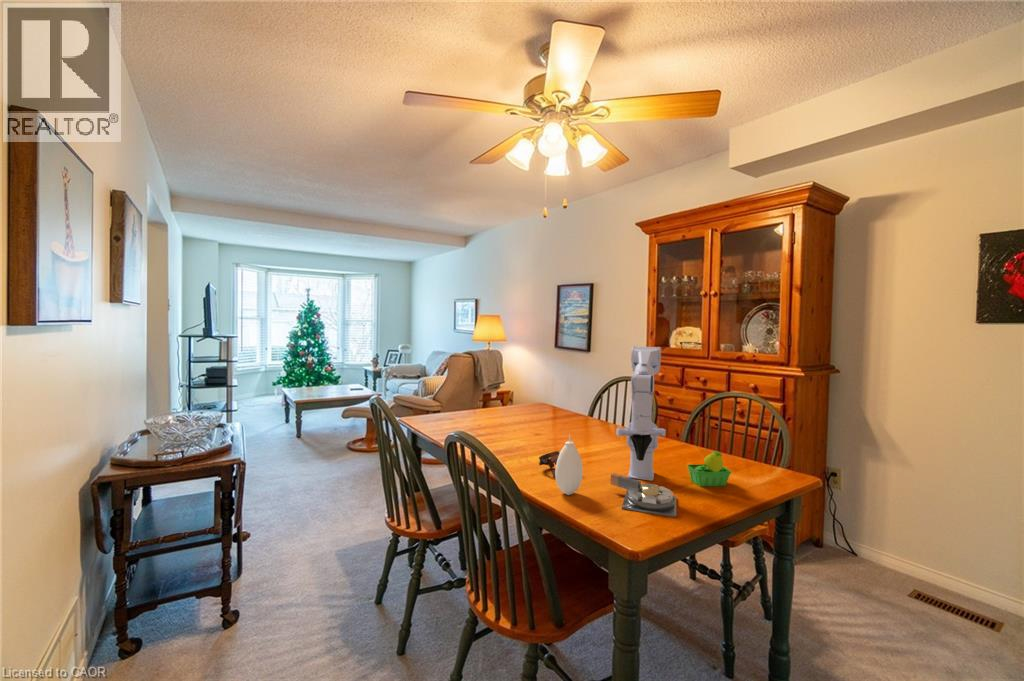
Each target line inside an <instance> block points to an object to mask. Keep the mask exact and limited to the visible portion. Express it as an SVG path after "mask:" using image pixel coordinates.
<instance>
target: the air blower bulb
mask: <svg viewBox="0 0 1024 681" xmlns="http://www.w3.org/2000/svg"><path fill="white" fill-rule="evenodd" d="M571 439H572V438H571V434H569V436H568V441H566V442H565V443H564V446H562V448H561V450H560V451H559V453H560V454H559V456H558V459H557V463H556V465H555V469H554V470H555V477H554V478H555V482H556V485H557V487H558V489H559V490H560V491H561V492H562V493H563V494H565V495H566V496H570V495H573V494H575V492H577V491H578V490H579V489H580V486H581V483H582V479H583V464H582V463H583V462H582V459H581V456H580V453H579V450H578V449H577V447H576V446H575V443H574V441H572V440H571Z"/></svg>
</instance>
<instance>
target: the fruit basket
mask: <svg viewBox="0 0 1024 681" xmlns="http://www.w3.org/2000/svg"><path fill="white" fill-rule="evenodd" d="M722 456H723V455H722V453H721V452H719V451H716V450H715V451H713V452H711V453H709V454H708V455H706V456H705V457H704V459H703V462H704V464H701V463H700V464H698V463H697V464H687V465H686V466H687V469H688V472H689V477H690V480H691V482H692V483H694V484H695V485H698V487H719V486H720V487H723V486H724V487H725V486H726V485H727V483H728V480H729V477H730V475H731V473H732V470H730V469H729V468H727V467H725V466H724V461H723V458H722Z"/></svg>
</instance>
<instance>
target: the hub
mask: <svg viewBox="0 0 1024 681" xmlns="http://www.w3.org/2000/svg"><path fill="white" fill-rule="evenodd" d="M650 484H651V483H646V484H645V483H644V484H643V485H642V491H641V493H643V494H645V495H651V496H657V495H660V494H659V487H660V486H659V485H658V486H655V485H656V484H654V485H650ZM621 509H622V510H627V511H632V512H639V513H644V514H652V515H658V516H665V517H670V518H677V495H673V501H671V502H670V503H665V504H659V503H657V502H656V504H650V503H644V502H642V500H640V501H637V500H635V499H633V498H632V497H630V496H629V495H628V489H626V492H625V495H624V498H623V501H622V505H621Z"/></svg>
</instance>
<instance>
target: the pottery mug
mask: <svg viewBox="0 0 1024 681" xmlns="http://www.w3.org/2000/svg"><path fill="white" fill-rule="evenodd" d="M559 454H560V451H559V450H556V451H551V452H549V453H548V452H547V453H545V454H543V455H540V456H539V457H538V459H539V462H538V465H539V466H542V465H545V466H548V467H549V468H550V469H553V468H555V466H556V463H557V459H558V456H559ZM551 474H552V477H553V478H556V477H555V469H553V470H551Z"/></svg>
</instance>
